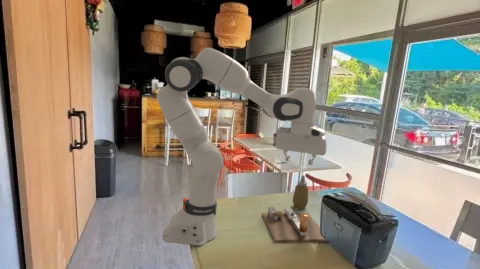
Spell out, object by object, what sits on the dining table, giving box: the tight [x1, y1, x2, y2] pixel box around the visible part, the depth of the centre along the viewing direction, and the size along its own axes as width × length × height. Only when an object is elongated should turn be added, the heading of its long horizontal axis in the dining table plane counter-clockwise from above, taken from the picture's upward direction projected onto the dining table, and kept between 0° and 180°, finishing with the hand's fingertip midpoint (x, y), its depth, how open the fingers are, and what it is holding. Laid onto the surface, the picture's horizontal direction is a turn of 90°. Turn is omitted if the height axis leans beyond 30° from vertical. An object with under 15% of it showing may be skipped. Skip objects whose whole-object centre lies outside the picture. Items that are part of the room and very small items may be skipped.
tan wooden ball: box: [277, 210, 284, 219], centre depth 126 cm, size 4×4×4 cm
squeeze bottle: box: [292, 174, 309, 211], centre depth 141 cm, size 8×8×18 cm
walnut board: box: [261, 206, 325, 244], centre depth 120 cm, size 24×23×6 cm
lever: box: [284, 206, 310, 236], centre depth 121 cm, size 4×22×9 cm, turn 9°
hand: (298, 162), depth 108 cm, fingers open, 8 cm apart
